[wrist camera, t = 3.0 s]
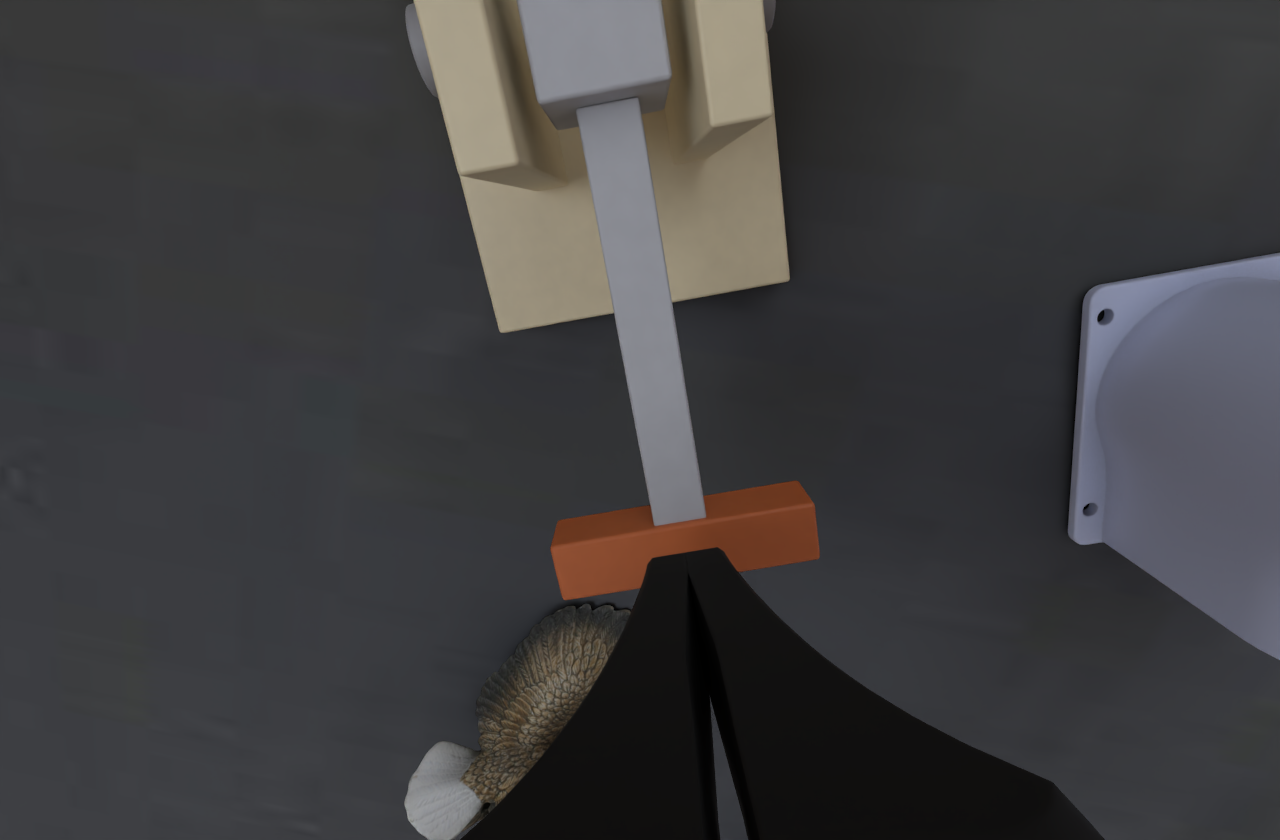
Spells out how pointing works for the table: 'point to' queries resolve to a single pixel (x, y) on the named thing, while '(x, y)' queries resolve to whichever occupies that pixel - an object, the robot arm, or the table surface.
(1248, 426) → the robot arm
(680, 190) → the beige mounting bracket
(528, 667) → the eagle figurine
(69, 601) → the table surface
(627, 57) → the lever
